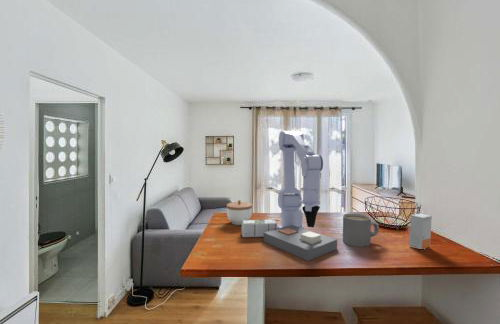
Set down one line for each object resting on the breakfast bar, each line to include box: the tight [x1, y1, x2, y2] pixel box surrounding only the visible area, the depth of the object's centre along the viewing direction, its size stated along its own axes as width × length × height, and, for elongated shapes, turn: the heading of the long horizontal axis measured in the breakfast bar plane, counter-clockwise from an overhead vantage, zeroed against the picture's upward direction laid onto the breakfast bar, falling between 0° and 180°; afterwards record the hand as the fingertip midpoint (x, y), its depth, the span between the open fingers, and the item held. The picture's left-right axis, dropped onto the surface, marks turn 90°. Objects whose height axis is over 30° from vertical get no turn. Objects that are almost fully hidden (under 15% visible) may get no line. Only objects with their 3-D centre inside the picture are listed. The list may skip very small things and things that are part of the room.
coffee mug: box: [342, 212, 380, 248], centre depth 97 cm, size 13×10×10 cm
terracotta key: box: [279, 228, 297, 236], centre depth 99 cm, size 5×5×4 cm
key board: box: [263, 225, 338, 262], centre depth 95 cm, size 16×22×4 cm
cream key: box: [301, 230, 321, 244], centre depth 90 cm, size 5×5×4 cm
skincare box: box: [409, 213, 432, 250], centre depth 92 cm, size 6×4×12 cm
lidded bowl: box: [225, 199, 253, 226], centre depth 123 cm, size 13×13×11 cm
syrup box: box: [241, 219, 278, 238], centre depth 106 cm, size 6×6×14 cm
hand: (310, 226), depth 90 cm, fingers closed
